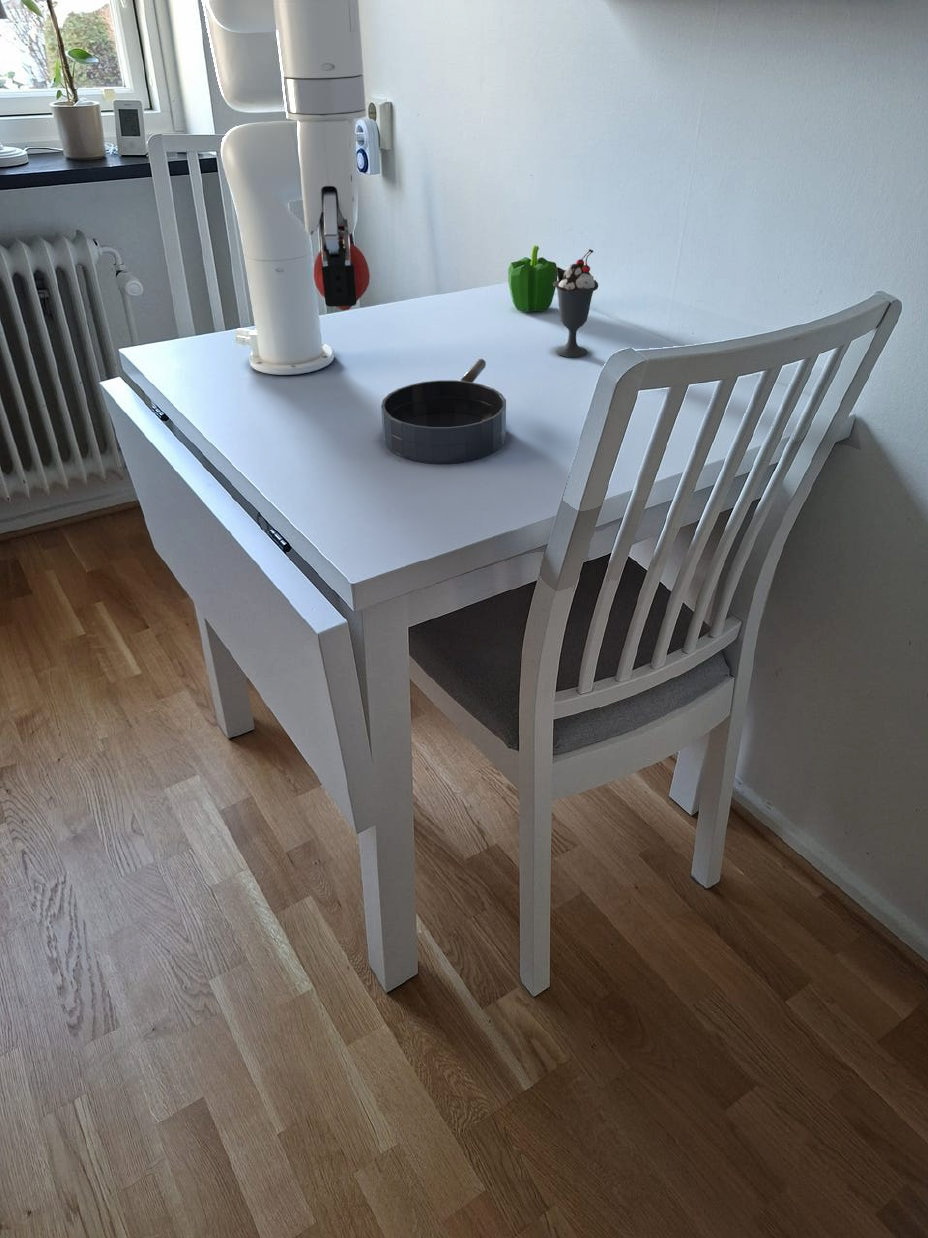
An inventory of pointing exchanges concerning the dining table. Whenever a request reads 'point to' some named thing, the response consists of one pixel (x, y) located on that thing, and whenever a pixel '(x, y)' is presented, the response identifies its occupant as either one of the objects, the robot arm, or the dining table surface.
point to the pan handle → (474, 371)
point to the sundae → (574, 302)
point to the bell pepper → (532, 282)
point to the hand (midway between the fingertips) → (343, 294)
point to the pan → (444, 421)
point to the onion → (359, 270)
